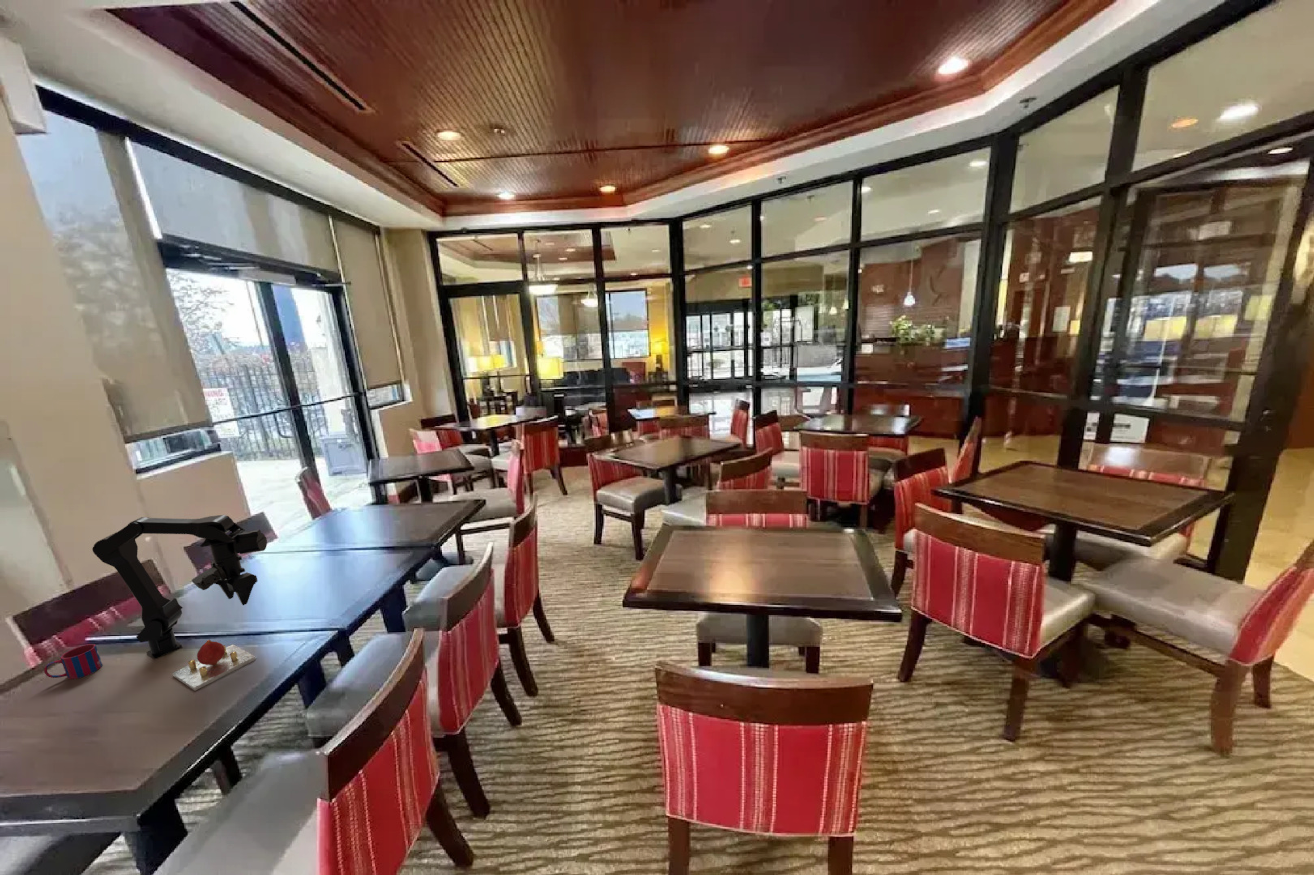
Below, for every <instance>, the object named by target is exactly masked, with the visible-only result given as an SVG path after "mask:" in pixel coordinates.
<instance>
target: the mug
mask: <svg viewBox="0 0 1314 875" xmlns="http://www.w3.org/2000/svg"><path fill="white" fill-rule="evenodd" d="M59 657H60V659H58V660H54V661H51V662H49V663H47V664H46V665H45V666H44V669H43V670H44V671H43V672H44V675H45V676H46V677H48V678H52V679H57V678H58V679H59V678H64V677H67V679H68V680H77V679H80V678H84V677H86V676H89V675H92V674H94V673H95V672H97V671H98V670H100V669H101V668H102V667H103V663H102V660H101V657H100V653H99V650H98V648H97V644H95V643H88V644H87V643H86V644H84V645H80V646H77V647H74V648H72V649H69V650H68V651H66V652H65V653H63V654H61V655H60V656H59ZM54 664H61V665H62V666H63V669H64V672H65V673H62V674H56V675H55V674H54V675H53V674H50V673H49V671H48V668H49V666H51V665H54Z"/></svg>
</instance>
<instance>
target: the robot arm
mask: <svg viewBox="0 0 1314 875" xmlns="http://www.w3.org/2000/svg"><path fill="white" fill-rule="evenodd" d="M229 532H230V533H229ZM227 533H228V534H227ZM143 534H144V535H145V534H146V535H147V534H152V535H153V534H154V535H156V534H157V535H189V536H190V535H191V536H194V537H196V538H199V539H204V541H203V542H202V543H201V544H200V547H201V548H203V547H210V551H211V555H212V559H213V560H212V561H211V563H210V566H211V567H210V568H208V569H206V570H204V571H203V572H201V573H199V574H198V575H196V576H195V577H193V578H192V579H191V582H192V583H193V584H194V585H195V587H197V588H198V589H200V590H202V591H206V590H207V589H210V587H212V586H213V585H214V584H215V585H217V586H219V587H220V589H221V590H222V592H223V593H224V594H225V596H226V597H227V599H229V600H231V599H233V598H234V595H235V594H236V595H237V598H238V600H239V602H240V603H241V605H242V606H245V605H247V604H248V602H249V599H250V597H251V593H252V591H253V589H254V586H255V585H256V583H258V581H259V580H258V576H257V575H256V574H252V573H250V572H246V570H245V568H244V567H242V565H241V561H242V560H243V558H242V556H241V555H245V554H251V553H253V554H254V553H259V552H264V551H266V549H267V545H268V539H267V537H266V536H265V534H264V533H263V532H262V531H261V529H254V530H251V531H246V529H244V528H243V527H242V526H240V525H239V524H237V523H236V522H234V520H233V519H232V518H231V517H230V516H229V515H226V514H225V515H224V514H221V515H219V514H218V515H212V516H211V515H210V516H205V517H201V518H167V517H165V518H163V517H161V518H160V517H159V518H158V517H147V516H142V517H139V518H137V519H134V520H132V521H130V522H129V523H128V524H127V525H126V526H124V527H123V528H122V529H120V530H118V531H116V532H114V533H112V534H110V535H108V536H105V537H104V538H102V539H100V540H98V541H96V542H95V543H94V544H93V546H92V547H91V548H92V553H93V554H94V555H95V556H96V557H97V558H98V559H99V560H100V561H101V562H102V563H104V564H106V565H108V566H111V567H114V569H115V570H116V571H117V573H118V575H119V576H120V578H122V580H123V582H124V583H125V584H126V586H127V587H128V589H129V590H130V592H131V594H132V595H133V597H134V598H135V599H136V601H137V603H138V604H139V605H140V607H141V621H142V624H143V626H144V627H143V629H142V630H141V631H140V632H139V633H138V635H136V637H135V638H136V639H137V640H138V641H139V642H140V643H144V642H147V645H148V648H149V650H148V651H147V652H146V655H147V656H149V657H151V658H152V659H154V660H155V659H158V658H160V657H163V656H165V655H167V654H170V653H171V652H174V651H175V650H178V649H180V648H182V647H183V644H181V643H180V642H178V641H177V639H176V636H175V632H174V628H173V627H174V626H175V625H177V624H178V621H179V619H180V618H181V616H182V614H183V611H182V609H183V608H184V607H183V606H181V605H180V603H179V602H178V599H177V598H175V597H174V598H171V599H169V598H167V597H164V596H163V595H162V593H161V591H160V590H159V588H158V587H157V586H156V583H154V581H153V579H152V578H151V576H150V575H149V573H148V572H147V570H146V569H145V567H144V566H143V564H142V562H141V561H140V559H139V558H138V550H139V549H138V543H137V541H136V539H138V538H139V537H140V536H142V535H143ZM239 554H240V555H239ZM241 573H242V574H241Z"/></svg>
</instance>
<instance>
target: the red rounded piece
mask: <svg viewBox="0 0 1314 875" xmlns="http://www.w3.org/2000/svg"><path fill="white" fill-rule="evenodd" d="M224 653H225V649H224V646H223V644H222V643H220V642H217V641H211V640H210V639H208V640H206V642H205V643H203V645H202V646H200V649H199V650H198V652H197V653H196V659H197V661H199V662H200V663H201V664H205V665H215V664H217V663H218V661H219V660H220V659H221V658H222V657H223V655H224Z"/></svg>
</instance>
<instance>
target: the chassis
mask: <svg viewBox="0 0 1314 875" xmlns="http://www.w3.org/2000/svg"><path fill="white" fill-rule="evenodd" d="M222 645H223V644H222ZM223 646H224V649H225V653H224V655H223V657H222V658H221V659H220V660H219V661H218V663H217V664H215V665H205V664H201V663H200V662H199V661H198V660H197V661H196V659H191V660H189V661H188V662H187V664H188V665H186V666H184V667H183V668H181V669H178V670H176V671H174V672H172V676H173V678H175V679H176V680H178V681H180V682H181V683H182V684H184V685H185V686H187V687H188V688H190V689H191V690H192V691H194V692H196V691H197V690H200V689H201V688H203V687H205V686H207V685H209V684H211V683H213V682H215V681H217V680H219V679H220V678H221V679H222V677H224V676H226V675H228V674H229V675H230V674H231V673H232V672H234V671H236V670H238V669H240V668H242V667H244V666H246V665H248V664H251V662H253V661H256V660H257V659H256V656H255V655H253V654H251V653H250V652H248V651H245V650H244V649H242V648H241V647H239V646H236V645H235V644H231V645H228V646H226V645H223Z"/></svg>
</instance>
